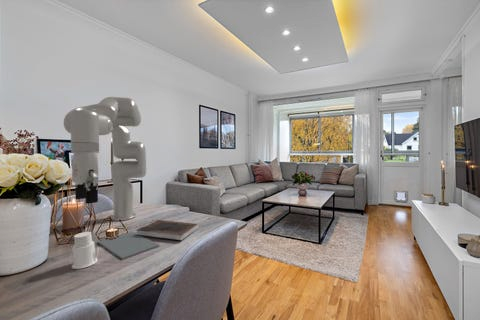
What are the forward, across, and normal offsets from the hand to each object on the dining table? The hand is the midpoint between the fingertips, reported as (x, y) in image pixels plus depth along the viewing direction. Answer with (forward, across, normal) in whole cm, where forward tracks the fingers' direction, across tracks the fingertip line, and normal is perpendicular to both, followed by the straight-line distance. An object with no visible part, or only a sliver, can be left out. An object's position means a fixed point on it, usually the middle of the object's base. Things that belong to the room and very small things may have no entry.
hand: (86, 200), depth 73 cm
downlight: (+21, 0, -1) cm, 21 cm away
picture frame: (+21, -3, +33) cm, 39 cm away
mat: (+21, -4, +15) cm, 26 cm away
